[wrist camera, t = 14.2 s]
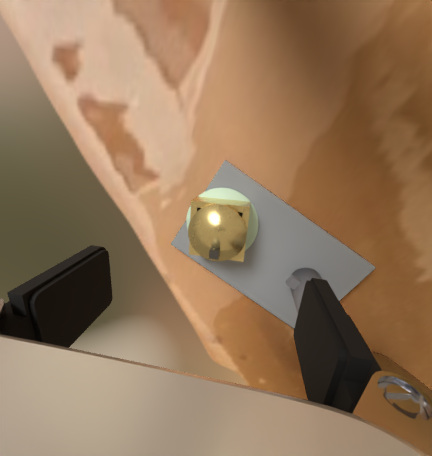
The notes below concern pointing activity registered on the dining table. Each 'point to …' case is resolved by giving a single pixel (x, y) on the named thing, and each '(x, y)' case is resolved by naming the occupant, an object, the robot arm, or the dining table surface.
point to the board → (277, 249)
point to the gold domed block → (218, 228)
